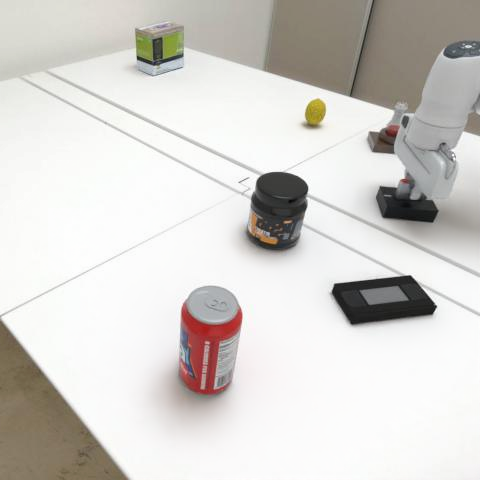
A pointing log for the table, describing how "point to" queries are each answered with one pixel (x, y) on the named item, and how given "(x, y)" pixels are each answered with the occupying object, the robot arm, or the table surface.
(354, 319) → the vhs tape
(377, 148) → the button block
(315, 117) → the lemon
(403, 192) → the grey rocker switch
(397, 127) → the button
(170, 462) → the table surface
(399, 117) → the rook chess piece
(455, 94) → the robot arm
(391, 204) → the plate
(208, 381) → the soda can
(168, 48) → the tea box
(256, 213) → the supplement container
